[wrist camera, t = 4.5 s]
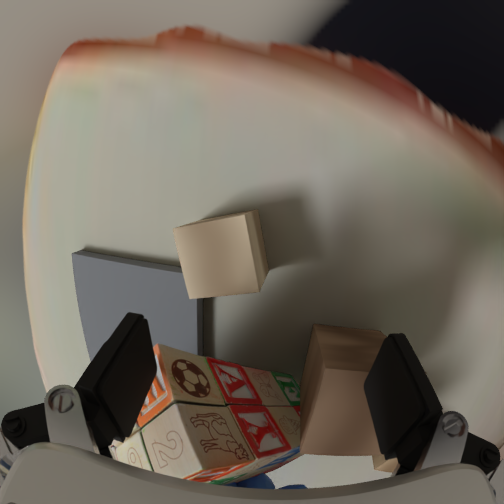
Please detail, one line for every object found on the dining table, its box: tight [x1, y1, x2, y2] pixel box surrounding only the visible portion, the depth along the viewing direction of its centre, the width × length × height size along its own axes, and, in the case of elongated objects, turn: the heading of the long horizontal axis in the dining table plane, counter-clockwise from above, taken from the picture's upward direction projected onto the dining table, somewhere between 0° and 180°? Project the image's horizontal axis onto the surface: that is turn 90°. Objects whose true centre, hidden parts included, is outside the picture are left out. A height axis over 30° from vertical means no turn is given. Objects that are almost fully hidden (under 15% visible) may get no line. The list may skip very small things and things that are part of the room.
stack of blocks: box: [110, 343, 304, 485], centre depth 14 cm, size 21×6×12 cm
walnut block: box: [300, 324, 426, 456], centre depth 14 cm, size 5×5×8 cm
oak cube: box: [372, 455, 398, 473], centre depth 17 cm, size 4×4×4 cm
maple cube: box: [173, 209, 269, 299], centre depth 16 cm, size 4×4×4 cm
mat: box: [72, 250, 203, 361], centre depth 20 cm, size 12×12×1 cm
